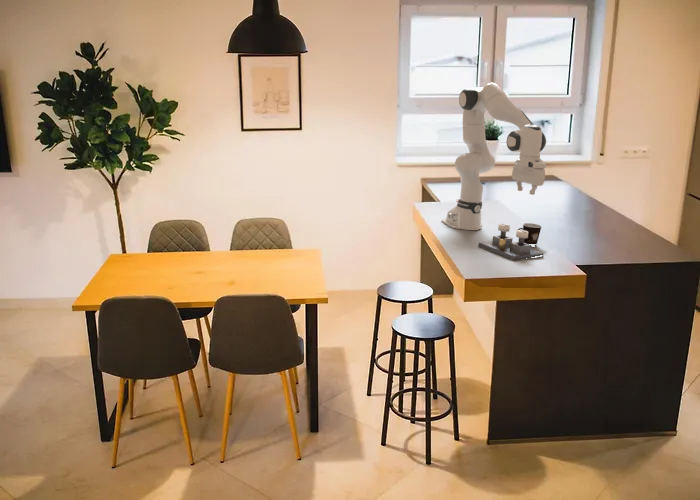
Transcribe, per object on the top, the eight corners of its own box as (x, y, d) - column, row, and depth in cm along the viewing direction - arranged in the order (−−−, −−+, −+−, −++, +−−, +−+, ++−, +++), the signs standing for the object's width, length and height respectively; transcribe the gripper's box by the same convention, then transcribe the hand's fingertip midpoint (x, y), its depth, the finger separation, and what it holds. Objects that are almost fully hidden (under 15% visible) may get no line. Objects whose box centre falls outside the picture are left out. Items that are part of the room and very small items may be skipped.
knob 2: (512, 243, 329) (514, 229, 327) (520, 242, 332) (522, 229, 330) (520, 246, 325) (522, 232, 323) (528, 245, 328) (530, 232, 326)
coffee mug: (537, 244, 353) (540, 224, 350) (539, 248, 344) (542, 228, 342) (513, 241, 354) (515, 221, 351) (515, 246, 345) (517, 226, 343)
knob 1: (494, 236, 339) (496, 223, 337) (503, 235, 342) (504, 222, 340) (502, 239, 335) (504, 226, 333) (510, 238, 337) (512, 225, 336)
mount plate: (478, 246, 340) (479, 235, 338) (506, 243, 349) (508, 232, 348) (513, 260, 320) (515, 248, 319) (542, 257, 329) (544, 245, 328)
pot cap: (497, 248, 332) (498, 237, 330) (501, 247, 333) (503, 237, 332) (501, 249, 330) (502, 239, 328) (506, 249, 331) (507, 239, 330)
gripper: (510, 158, 330) (507, 188, 333) (536, 165, 312) (533, 196, 315) (521, 158, 332) (518, 188, 336) (548, 165, 314) (545, 196, 317)
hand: (525, 192), depth 325 cm, fingers open, 8 cm apart
